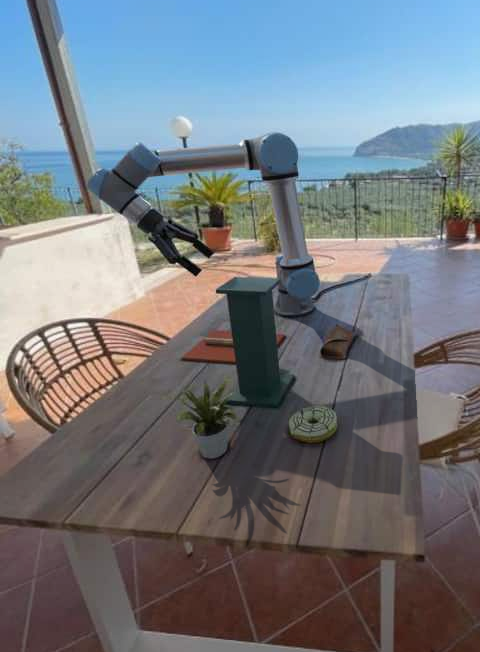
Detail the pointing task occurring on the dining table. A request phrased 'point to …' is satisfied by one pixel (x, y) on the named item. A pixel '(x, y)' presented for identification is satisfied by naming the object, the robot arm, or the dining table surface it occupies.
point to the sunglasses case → (338, 343)
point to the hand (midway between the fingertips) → (205, 264)
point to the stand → (255, 342)
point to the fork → (218, 341)
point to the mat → (217, 349)
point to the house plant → (209, 420)
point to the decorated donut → (313, 424)
